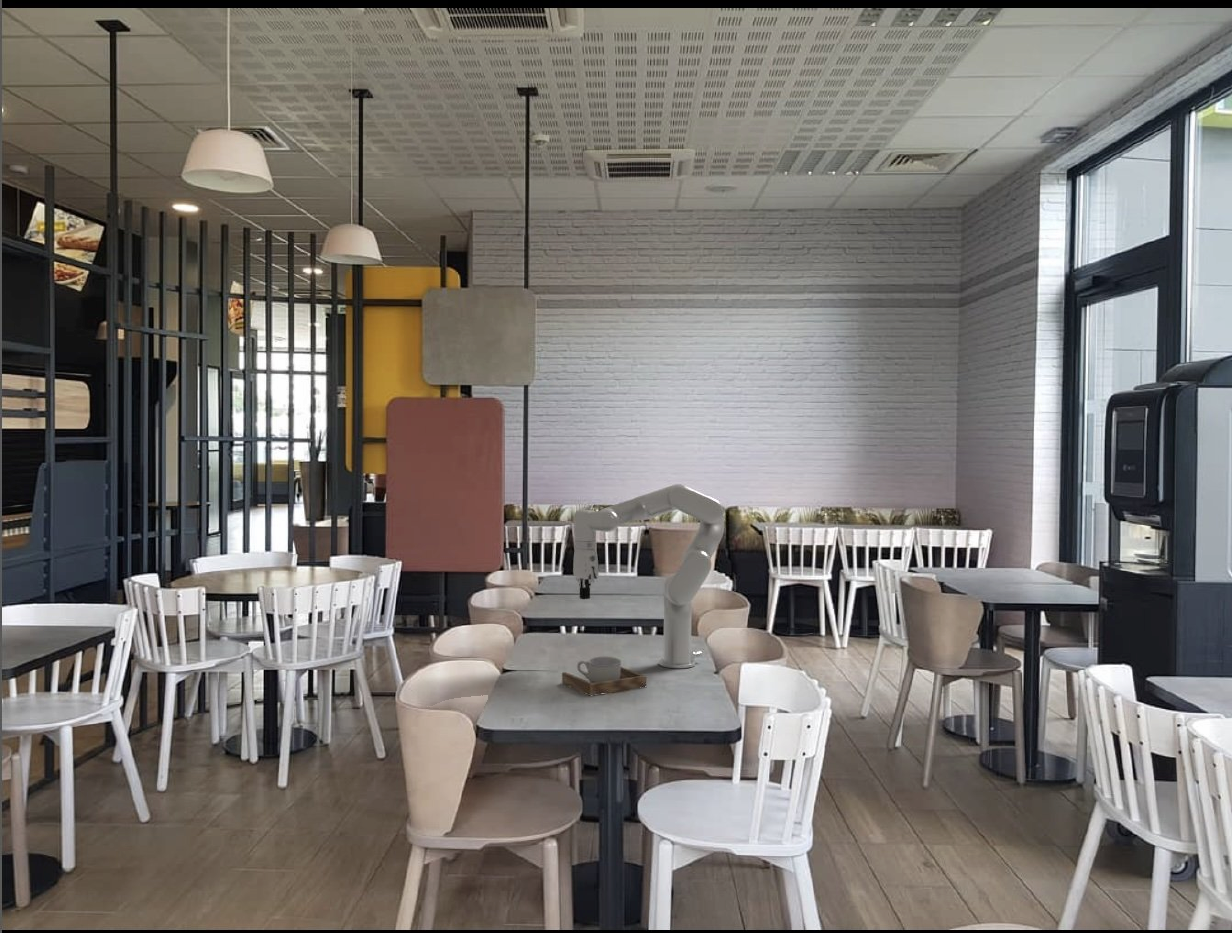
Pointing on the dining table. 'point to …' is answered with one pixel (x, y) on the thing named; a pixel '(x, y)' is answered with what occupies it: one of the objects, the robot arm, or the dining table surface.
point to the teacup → (601, 669)
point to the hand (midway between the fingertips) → (584, 598)
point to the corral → (606, 683)
